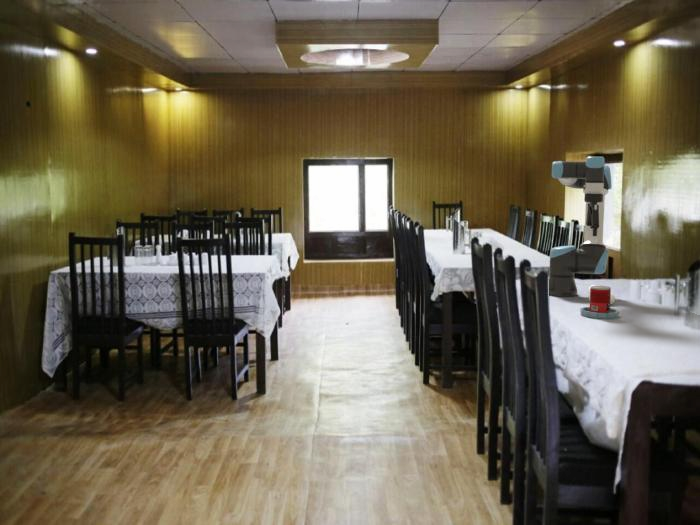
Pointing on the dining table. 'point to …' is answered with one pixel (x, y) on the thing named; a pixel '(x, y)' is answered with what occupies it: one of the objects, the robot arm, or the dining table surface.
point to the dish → (586, 312)
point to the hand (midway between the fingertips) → (591, 242)
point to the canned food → (600, 299)
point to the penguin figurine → (612, 297)
